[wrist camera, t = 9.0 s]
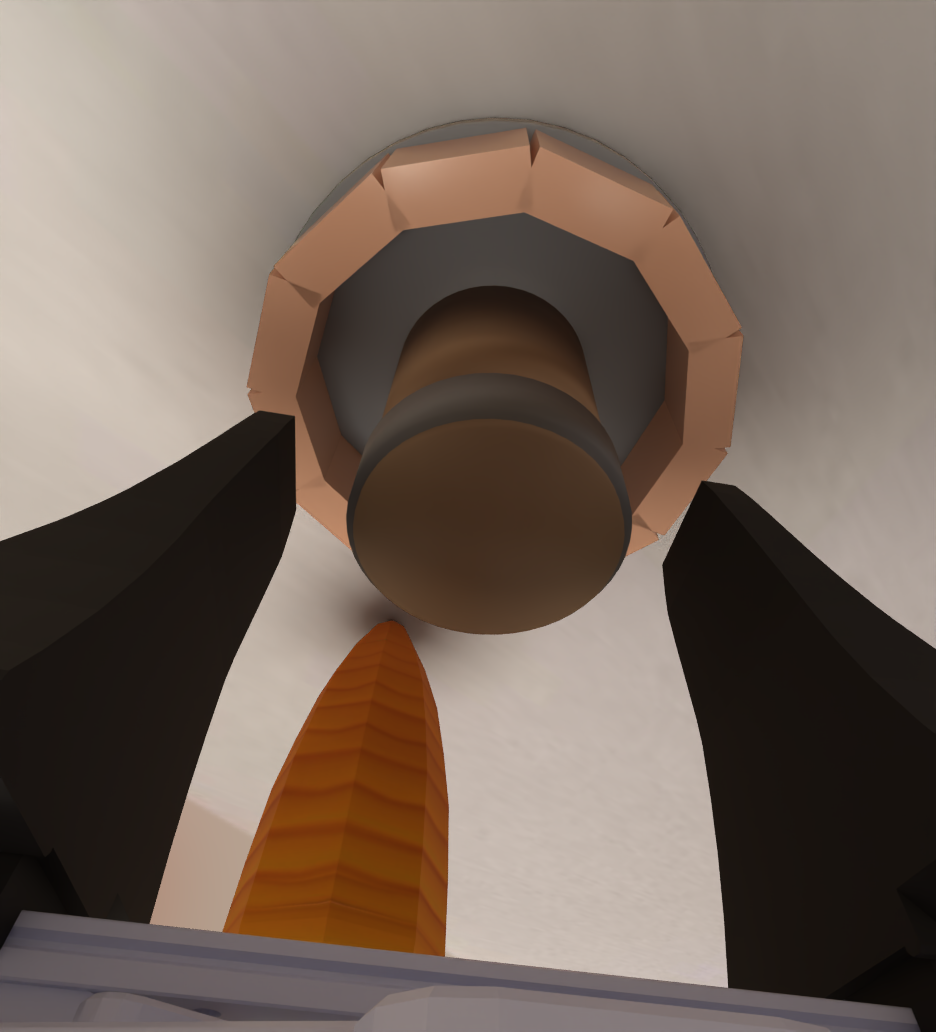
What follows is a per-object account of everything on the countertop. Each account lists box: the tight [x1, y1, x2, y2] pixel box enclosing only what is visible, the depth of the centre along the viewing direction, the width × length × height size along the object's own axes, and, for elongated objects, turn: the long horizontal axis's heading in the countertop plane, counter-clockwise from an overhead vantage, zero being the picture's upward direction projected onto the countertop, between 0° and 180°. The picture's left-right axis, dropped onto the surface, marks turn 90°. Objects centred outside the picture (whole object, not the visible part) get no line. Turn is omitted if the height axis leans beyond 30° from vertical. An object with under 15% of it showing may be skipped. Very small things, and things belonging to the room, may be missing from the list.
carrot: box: [223, 620, 449, 957], centre depth 16 cm, size 5×5×15 cm
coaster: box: [247, 118, 743, 557], centre depth 15 cm, size 10×10×3 cm
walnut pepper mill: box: [346, 285, 632, 634], centre depth 13 cm, size 5×5×6 cm
